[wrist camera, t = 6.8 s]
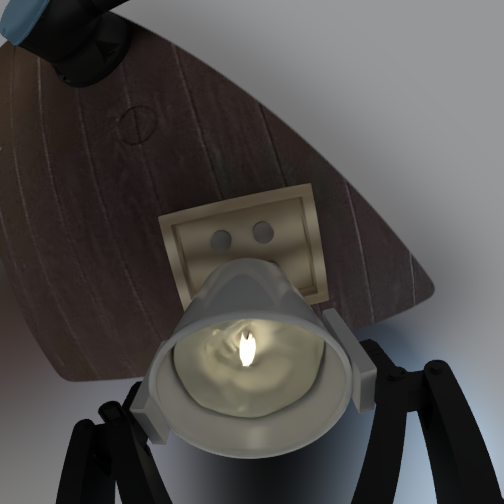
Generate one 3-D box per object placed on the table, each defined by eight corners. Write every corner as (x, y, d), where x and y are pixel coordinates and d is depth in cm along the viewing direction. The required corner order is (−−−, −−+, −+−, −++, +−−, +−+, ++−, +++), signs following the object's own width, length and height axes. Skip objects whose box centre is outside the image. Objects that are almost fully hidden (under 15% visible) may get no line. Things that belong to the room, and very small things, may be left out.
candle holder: (268, 224, 22) (297, 266, 10) (324, 319, 24) (376, 412, 12) (167, 286, 23) (108, 369, 11) (231, 368, 24) (225, 473, 13)
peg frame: (165, 214, 40) (157, 216, 36) (304, 183, 39) (310, 183, 36) (194, 317, 44) (190, 328, 40) (321, 290, 43) (329, 300, 39)
